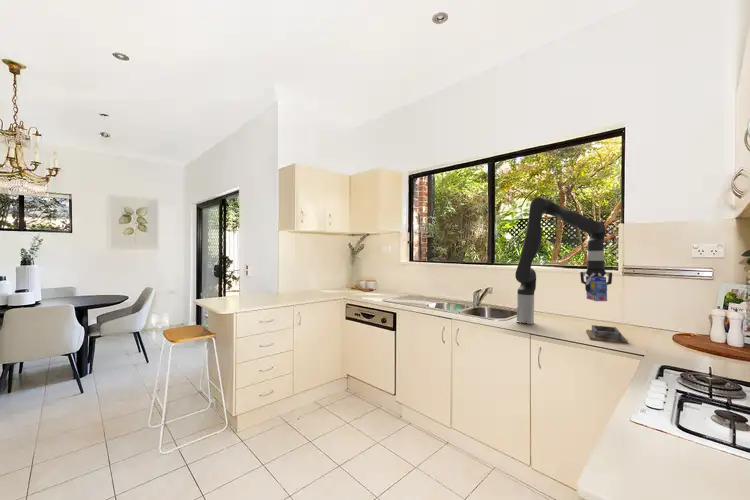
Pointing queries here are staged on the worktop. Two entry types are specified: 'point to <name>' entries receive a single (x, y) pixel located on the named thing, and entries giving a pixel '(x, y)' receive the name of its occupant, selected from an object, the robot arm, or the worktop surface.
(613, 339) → the docking frame
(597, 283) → the ink cartridge box
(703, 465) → the worktop surface
